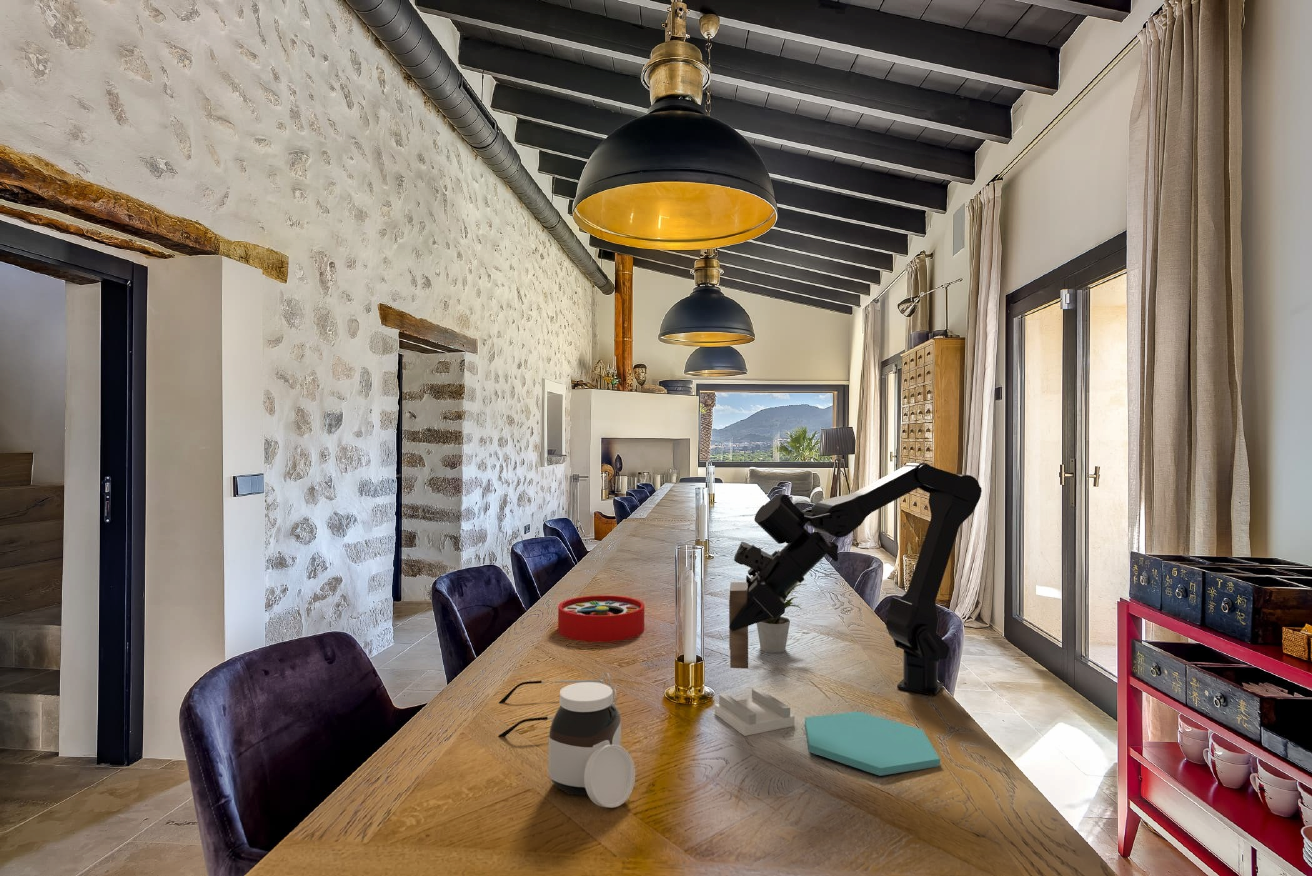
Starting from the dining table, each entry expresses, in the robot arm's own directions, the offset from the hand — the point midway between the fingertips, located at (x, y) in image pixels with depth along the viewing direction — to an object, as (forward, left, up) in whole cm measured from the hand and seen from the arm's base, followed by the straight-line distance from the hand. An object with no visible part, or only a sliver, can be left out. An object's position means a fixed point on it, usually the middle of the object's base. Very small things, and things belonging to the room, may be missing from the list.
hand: (731, 622), depth 118 cm
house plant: (-27, -4, -13) cm, 30 cm away
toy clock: (-18, -44, -13) cm, 50 cm away
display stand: (+7, +8, -12) cm, 16 cm away
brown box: (-1, +1, -7) cm, 7 cm away
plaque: (+5, +26, -13) cm, 29 cm away
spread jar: (+38, +2, -13) cm, 40 cm away
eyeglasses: (+24, -18, -13) cm, 33 cm away
